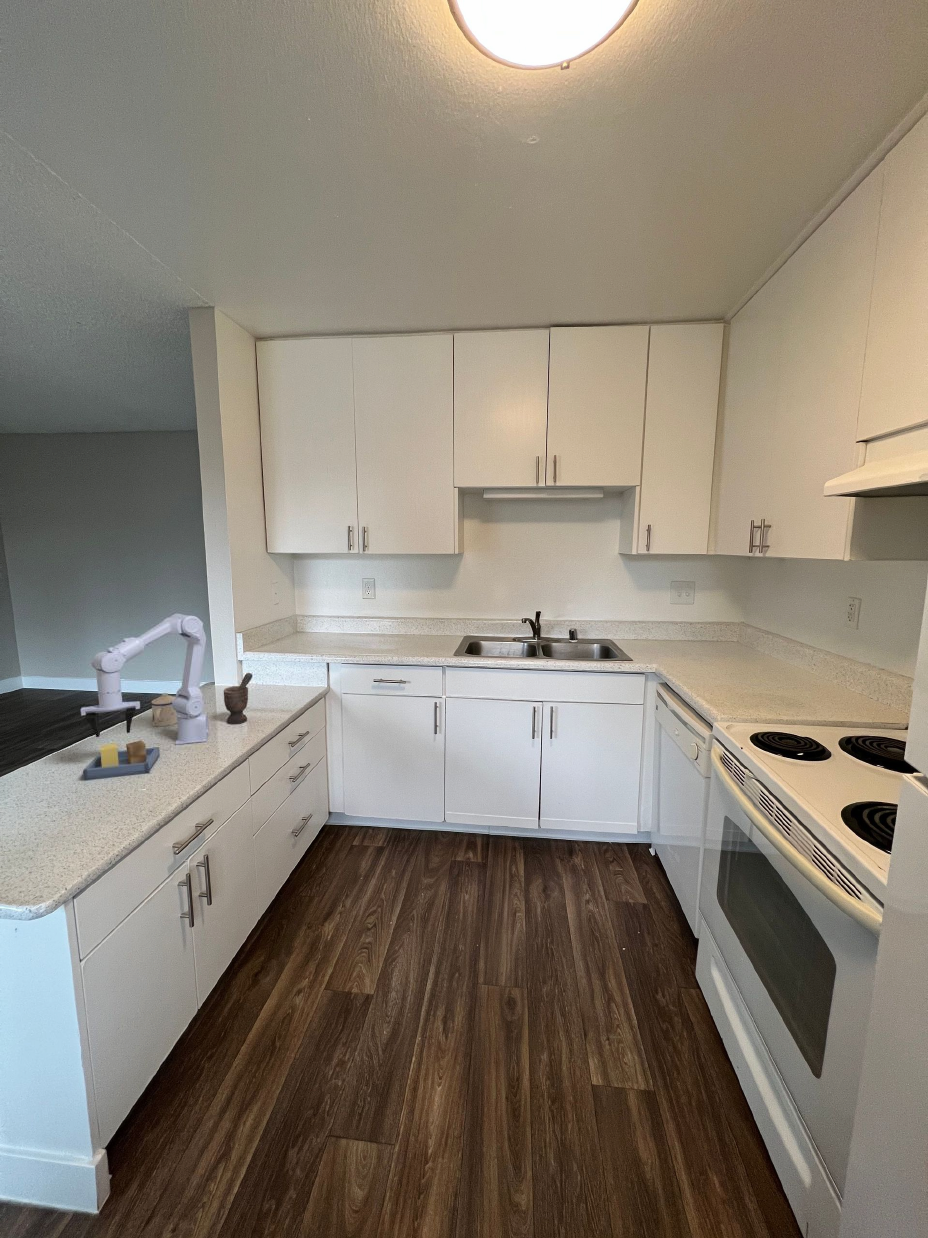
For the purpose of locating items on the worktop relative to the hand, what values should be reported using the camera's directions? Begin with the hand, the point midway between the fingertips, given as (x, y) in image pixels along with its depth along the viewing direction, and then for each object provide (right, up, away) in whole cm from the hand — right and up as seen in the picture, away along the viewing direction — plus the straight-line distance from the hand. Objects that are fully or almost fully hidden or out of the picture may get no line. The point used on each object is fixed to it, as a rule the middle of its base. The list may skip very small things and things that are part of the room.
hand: (113, 734), depth 148 cm
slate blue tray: (+5, -10, -2) cm, 11 cm away
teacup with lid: (-6, -5, +35) cm, 36 cm away
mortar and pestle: (+21, -5, +40) cm, 45 cm away
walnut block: (+8, -9, -1) cm, 12 cm away
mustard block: (+1, -9, -3) cm, 9 cm away
